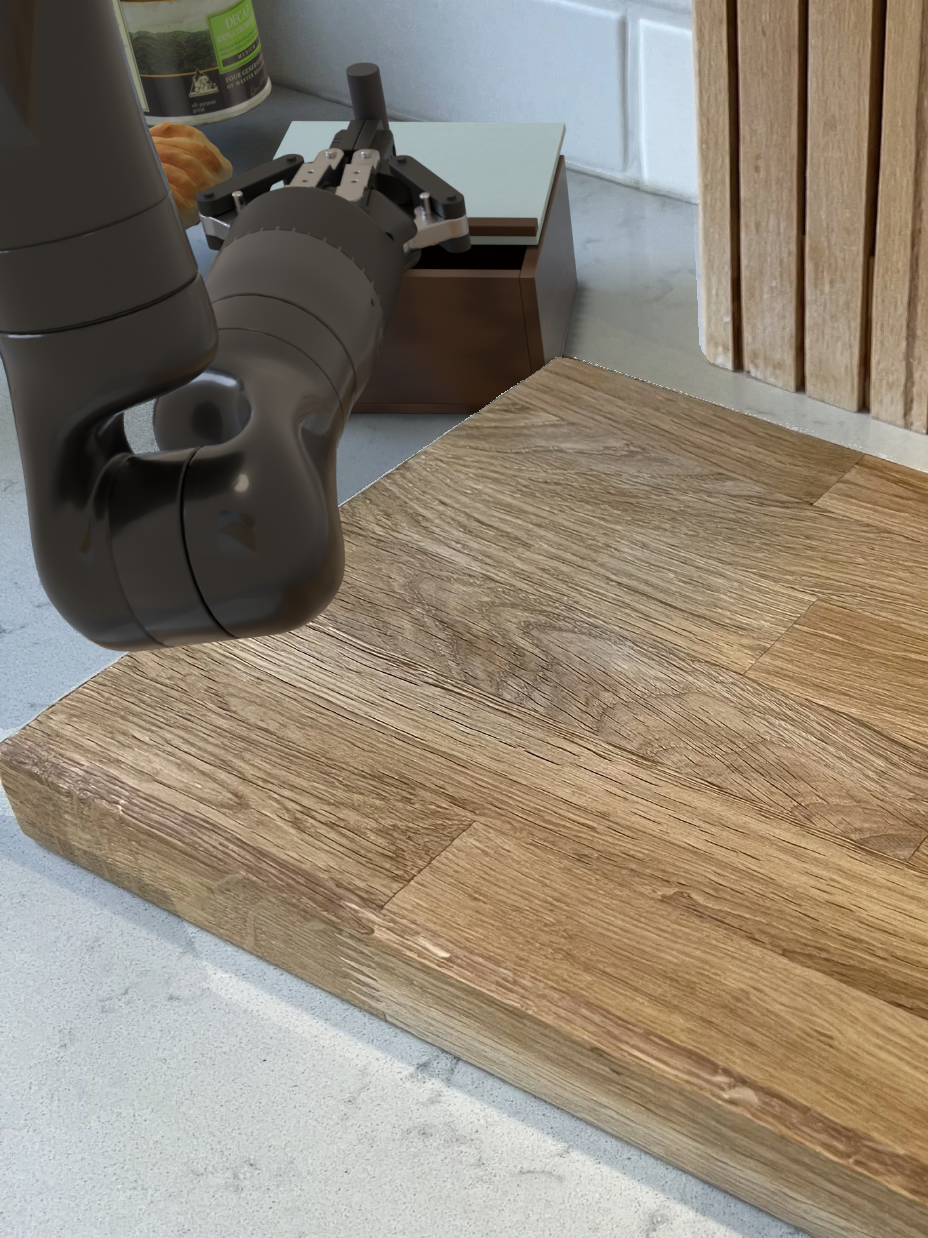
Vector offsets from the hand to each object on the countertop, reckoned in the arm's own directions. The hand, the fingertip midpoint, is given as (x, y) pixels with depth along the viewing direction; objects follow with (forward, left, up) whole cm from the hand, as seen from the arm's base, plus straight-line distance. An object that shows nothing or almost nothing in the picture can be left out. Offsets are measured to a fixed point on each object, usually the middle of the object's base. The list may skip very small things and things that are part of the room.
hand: (370, 138), depth 87 cm
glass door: (+2, +6, -5) cm, 8 cm away
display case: (+1, +3, -14) cm, 14 cm away
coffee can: (-8, +32, -10) cm, 34 cm away
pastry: (-11, +16, -10) cm, 22 cm away
